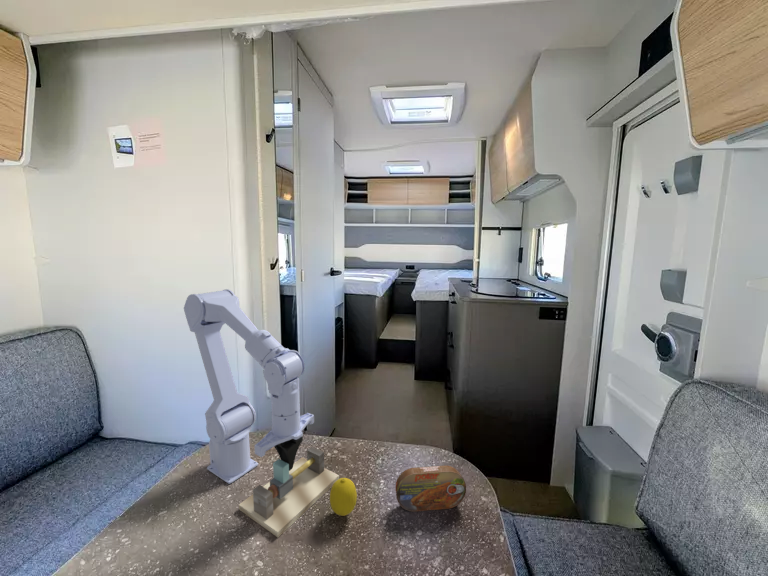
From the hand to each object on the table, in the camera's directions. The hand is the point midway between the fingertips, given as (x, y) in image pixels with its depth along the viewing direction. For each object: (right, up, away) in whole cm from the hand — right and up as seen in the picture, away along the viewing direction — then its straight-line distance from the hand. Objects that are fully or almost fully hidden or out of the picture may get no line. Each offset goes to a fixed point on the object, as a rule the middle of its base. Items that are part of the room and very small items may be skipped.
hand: (287, 467), depth 71 cm
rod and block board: (0, -7, +2) cm, 7 cm away
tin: (+31, -8, -1) cm, 32 cm away
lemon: (+13, -8, -3) cm, 15 cm away
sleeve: (-1, -4, -1) cm, 5 cm away
